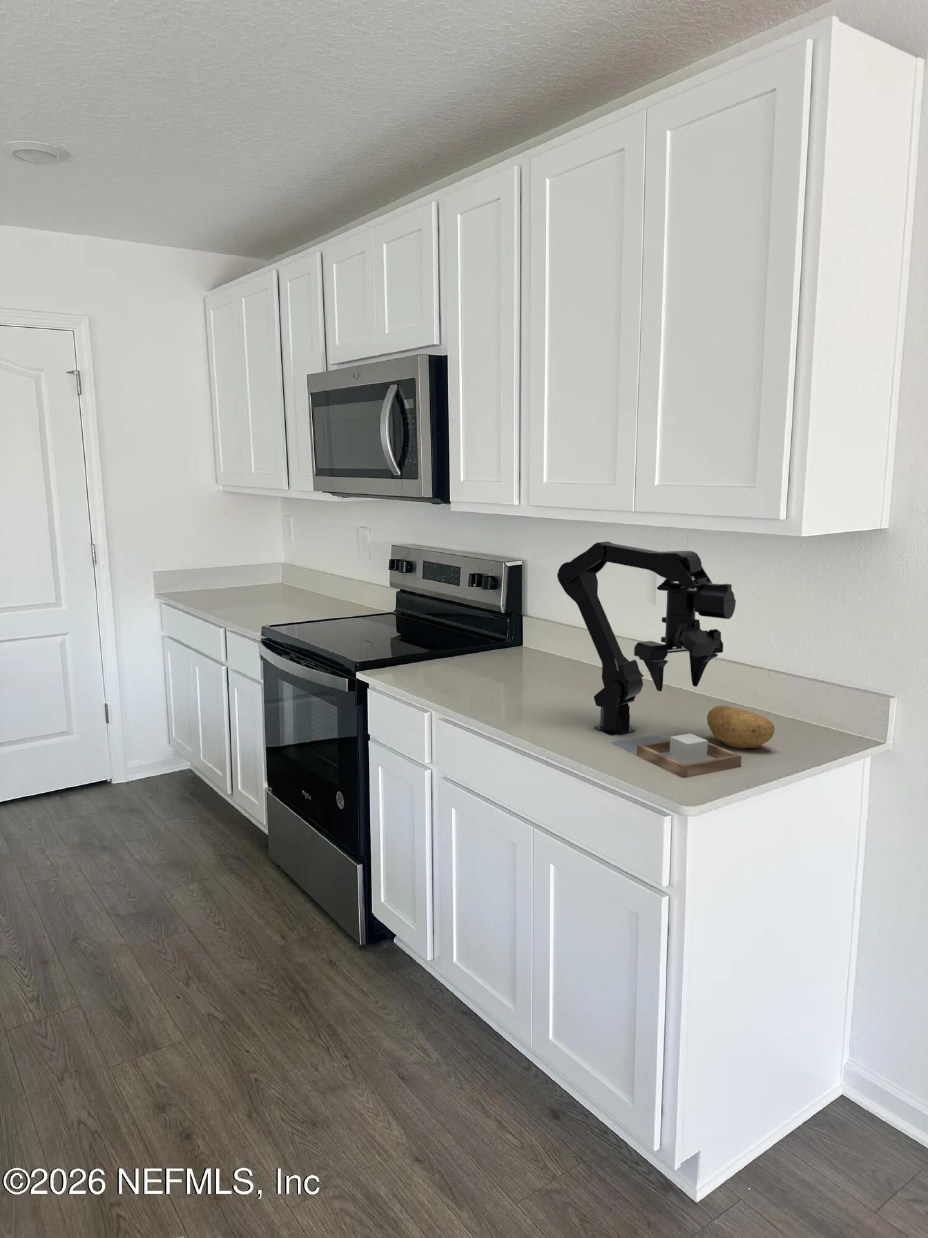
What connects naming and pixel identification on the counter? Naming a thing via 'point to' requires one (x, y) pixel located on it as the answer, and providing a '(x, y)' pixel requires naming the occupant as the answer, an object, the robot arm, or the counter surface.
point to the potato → (739, 727)
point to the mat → (632, 743)
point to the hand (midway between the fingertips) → (677, 688)
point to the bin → (721, 762)
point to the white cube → (688, 748)
